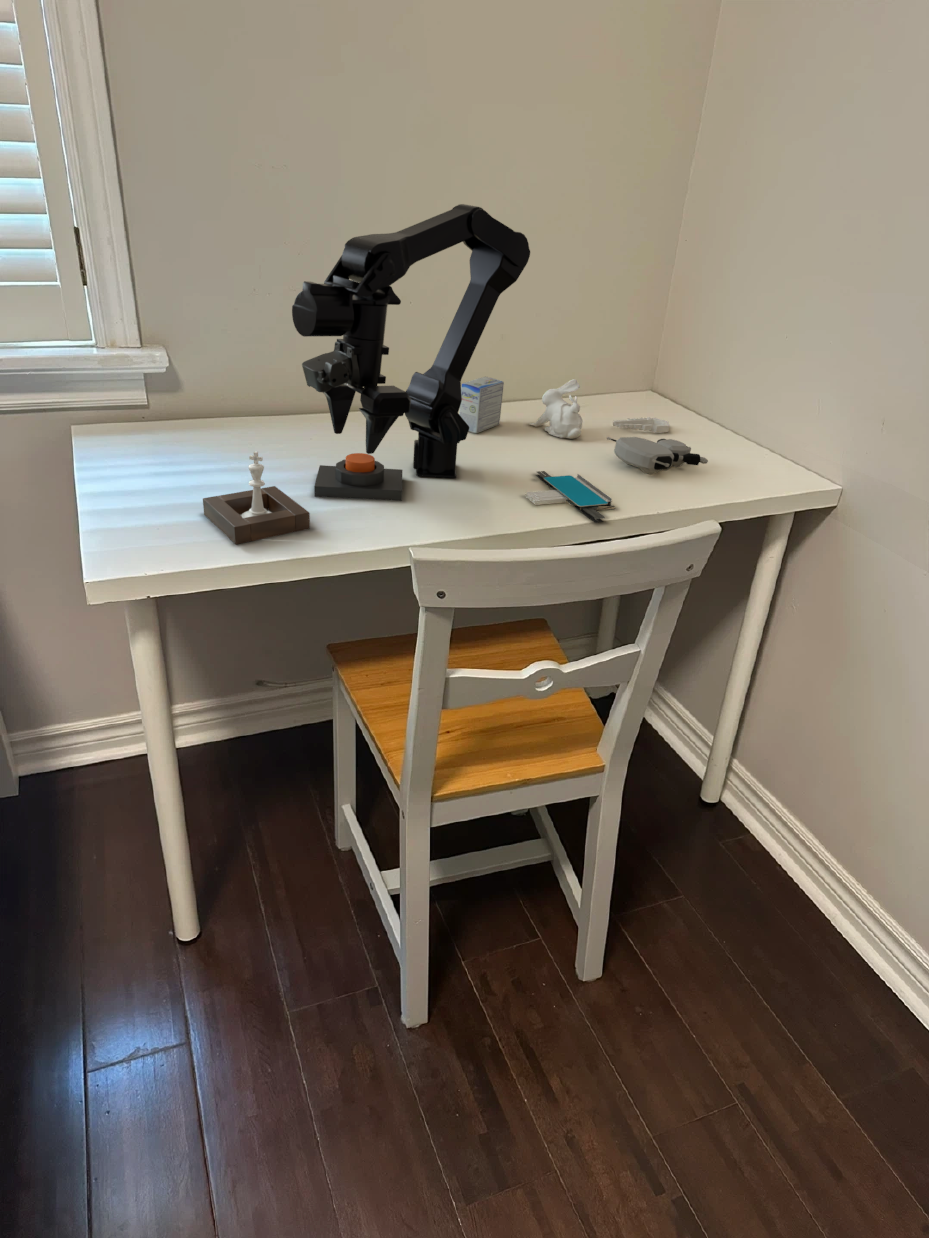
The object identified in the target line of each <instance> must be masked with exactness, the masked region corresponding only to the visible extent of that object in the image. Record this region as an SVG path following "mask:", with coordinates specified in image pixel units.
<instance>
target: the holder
mask: <svg viewBox="0 0 929 1238" xmlns="http://www.w3.org/2000/svg"><path fill="white" fill-rule="evenodd" d="M261 494H262V501H263V506H264V508H265V509H266V511H269V512H272V513H268V514H263V515H257V516H252V517H247V518H243V517H242V516H241V514H243V513H244V512H246V511H249V509H251V507H252V499H253V489H249V490H243V491H238V492H232V493H227V494H226V493H225V494H220V495H215V496H208V497H203V498H202V505H203V507H202V508H203V515H204V517H205V518H207V519H208V520H209V521H210V522H211V523H212V524H213V525H214V526H215V527H216V528H217V529H219V530H220V531H221V532H222V534H224V535H225V536H226V537H227V538H228V539H229V540H230V541H231V542H233V544H234V545H239V544H244V543H249V542H255V541H259V540H260V541H261V540H263V539H268V538H272V537H277V536H283V535H288V534H292V533H297V532H302V531H306V530H310V529H311V526H310V525H311V520H310V519H311V517H310V514H311V513H310V511H308V510H307V509H306V508H304V507H303V506H301V505H300V503H298V502H297V501H295V500H294V499H293V498H291V496H289V495H288V494H286V493H285V492H283V491H282V490H281V489H280V488H278V487H277V486H276V485H272V486H267V487H261Z"/></svg>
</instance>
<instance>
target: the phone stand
mask: <svg viewBox="0 0 929 1238" xmlns="http://www.w3.org/2000/svg"><path fill="white" fill-rule="evenodd" d="M536 473H537V474H535V476H536V477H537V478H538V479H539V481H541V482H542V483H543V484H545V485H546V486H548V487H549V490H537V491H526V492H525V495H524V497H525V498H526V499H527V500H528V501H530V502H531V503H532V504H534V505H535V506H540V505H550V504H552V505H553V504H561V503H562V504H563V503H568V504H569V505H570V506H572V507H574V508H575V509H576V510H577V511H578V512H580V513H581V514H582V515H584V516H585V517H586V518H587V519H589V520H591V521H592V522H593V523H595V524H597V523H598V524H599V523H604V522H605V521H604V520H602V519H606V517H605V516H604V515H603V514H602V513H600V512H599V511H607V510H608V511H609V510H616V506H615V505H612V502H613V498H612V497H610V496H609V495H607V494H606V493H605V492H603V491H602V490H601V489H600V488H598V487H596V486H595V485H593V483H591V482H589V481H588V480H587V479H586V478H584V477H583V476H581V475H580V474H578V473H577V475H576V476H575V477H574V476H573V475H570V474H569V475H556V476H554V475H553V476H551V474H549V473H547V471H545V470H541V471H540V470H539V471H536ZM533 480H536V479H533Z"/></svg>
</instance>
